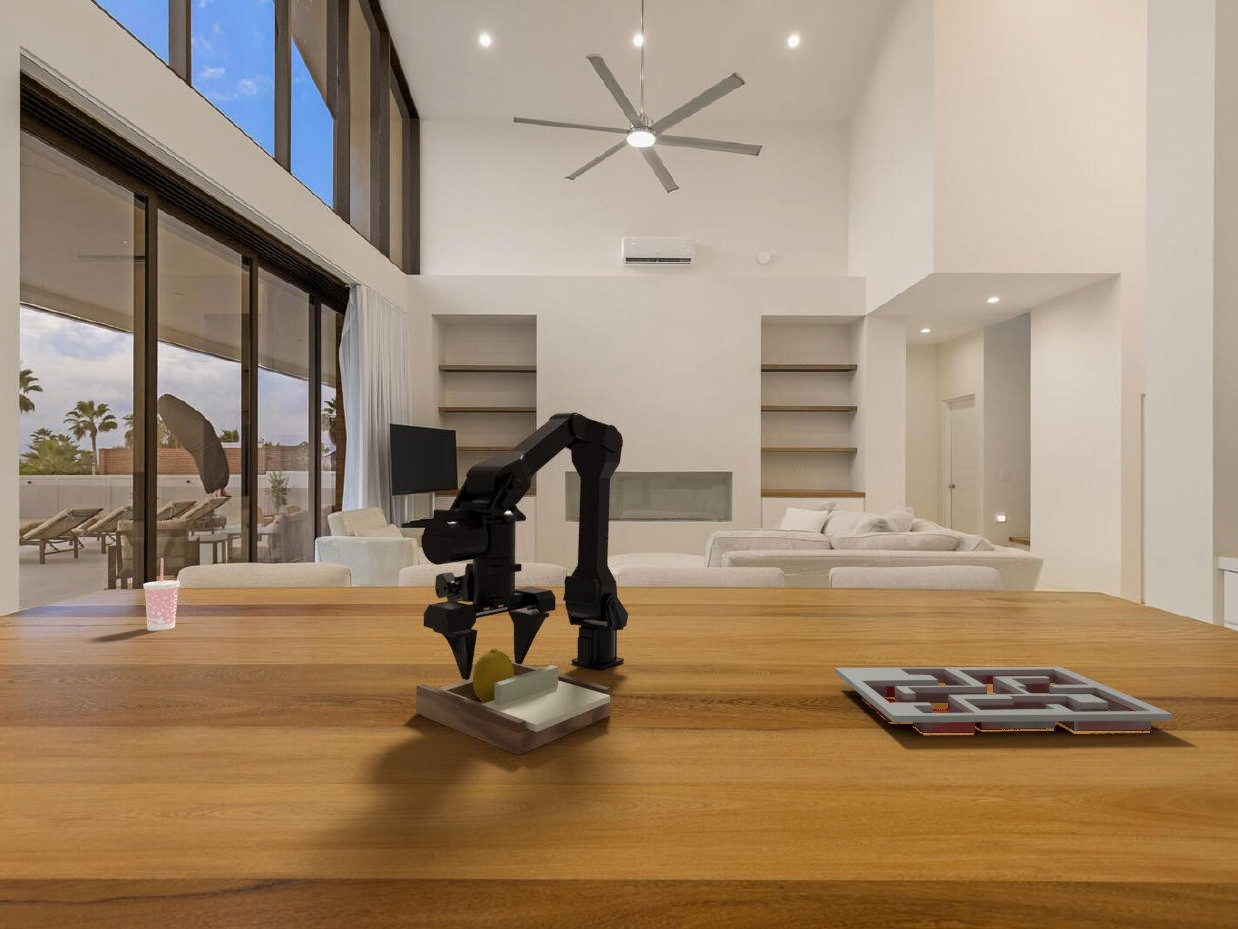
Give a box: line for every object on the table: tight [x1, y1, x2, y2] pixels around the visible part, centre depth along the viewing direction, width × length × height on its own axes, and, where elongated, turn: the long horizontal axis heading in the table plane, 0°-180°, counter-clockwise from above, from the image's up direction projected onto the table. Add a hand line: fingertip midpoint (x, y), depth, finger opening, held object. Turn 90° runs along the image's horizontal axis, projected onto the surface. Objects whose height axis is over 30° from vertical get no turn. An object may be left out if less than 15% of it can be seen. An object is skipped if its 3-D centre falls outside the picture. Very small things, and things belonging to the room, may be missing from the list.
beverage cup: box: [142, 557, 181, 632], centre depth 134 cm, size 6×6×14 cm
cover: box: [481, 664, 611, 732], centre depth 84 cm, size 13×10×3 cm
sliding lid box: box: [415, 659, 611, 757], centre depth 88 cm, size 16×20×4 cm
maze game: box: [834, 666, 1173, 734], centre depth 92 cm, size 35×20×3 cm, turn 92°
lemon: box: [472, 648, 514, 703], centre depth 91 cm, size 6×6×8 cm
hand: (493, 671), depth 91 cm, fingers open, 9 cm apart
